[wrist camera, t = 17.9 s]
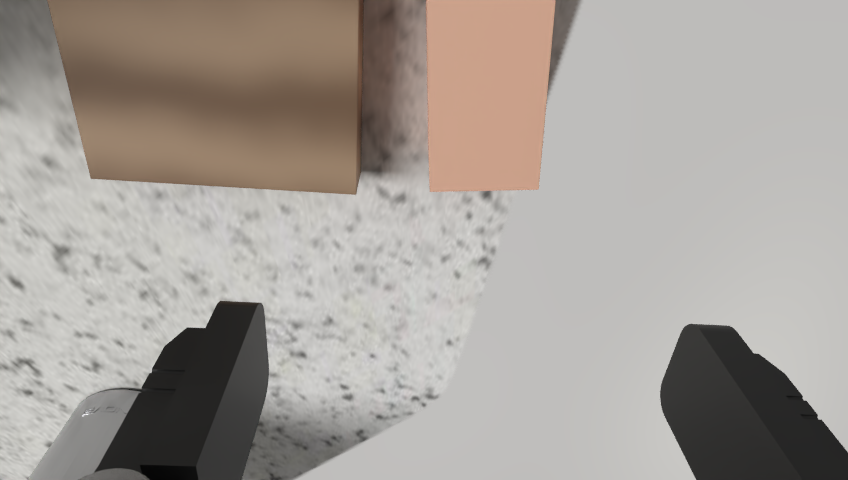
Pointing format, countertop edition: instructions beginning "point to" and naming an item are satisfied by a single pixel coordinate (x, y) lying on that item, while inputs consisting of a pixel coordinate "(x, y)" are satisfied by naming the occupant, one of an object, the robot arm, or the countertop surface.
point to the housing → (217, 90)
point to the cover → (487, 92)
